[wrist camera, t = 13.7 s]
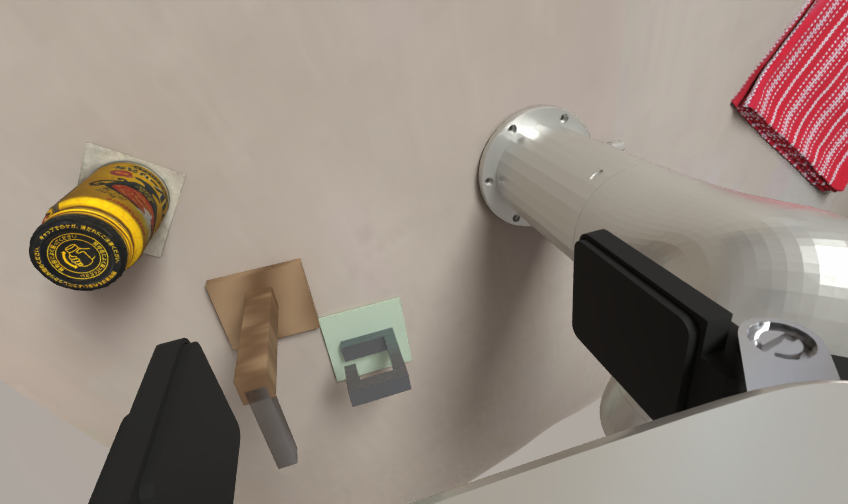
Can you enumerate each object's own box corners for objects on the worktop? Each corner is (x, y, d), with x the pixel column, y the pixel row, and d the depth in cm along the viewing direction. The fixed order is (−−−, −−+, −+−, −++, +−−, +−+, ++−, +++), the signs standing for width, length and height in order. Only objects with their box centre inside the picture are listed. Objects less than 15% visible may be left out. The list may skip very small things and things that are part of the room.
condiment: (186, 174, 40) (150, 229, 29) (160, 256, 42) (119, 334, 32) (88, 140, 37) (9, 189, 26) (67, 231, 39) (-12, 308, 29)
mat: (399, 296, 51) (399, 298, 50) (411, 358, 55) (411, 360, 55) (318, 318, 49) (318, 320, 49) (337, 379, 54) (337, 381, 53)
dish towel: (818, 193, 62) (838, 200, 59) (722, 104, 51) (743, 109, 49) (919, 75, 57) (946, 78, 55) (836, -48, 47) (865, -51, 44)
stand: (300, 258, 46) (304, 342, 34) (328, 350, 52) (340, 449, 40) (206, 280, 44) (177, 377, 32) (246, 372, 50) (233, 483, 38)
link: (392, 327, 52) (408, 374, 45) (395, 340, 53) (411, 389, 46) (340, 341, 51) (348, 392, 44) (344, 355, 52) (352, 406, 45)
